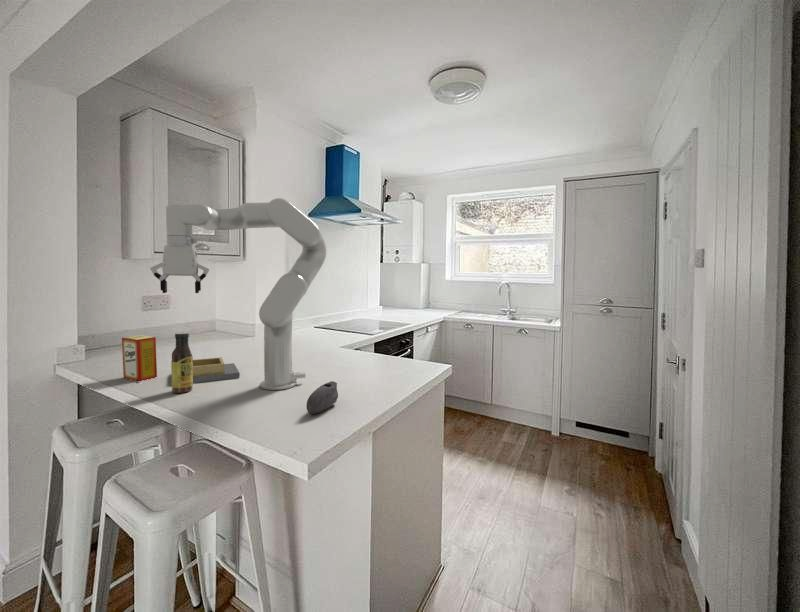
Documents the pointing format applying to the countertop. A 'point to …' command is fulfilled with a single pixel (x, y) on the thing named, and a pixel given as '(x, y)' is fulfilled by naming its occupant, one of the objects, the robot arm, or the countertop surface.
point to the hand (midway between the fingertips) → (181, 292)
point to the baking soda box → (139, 357)
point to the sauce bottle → (182, 365)
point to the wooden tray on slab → (213, 370)
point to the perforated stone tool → (322, 398)
